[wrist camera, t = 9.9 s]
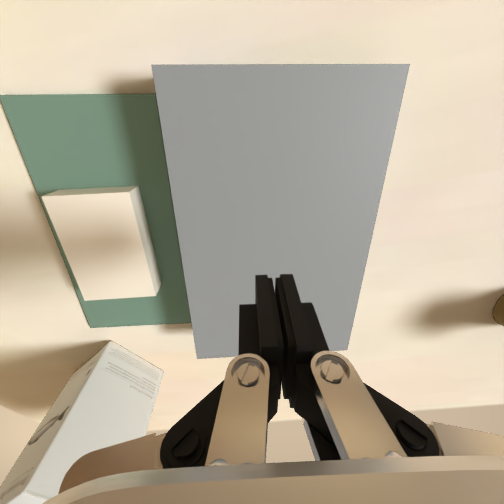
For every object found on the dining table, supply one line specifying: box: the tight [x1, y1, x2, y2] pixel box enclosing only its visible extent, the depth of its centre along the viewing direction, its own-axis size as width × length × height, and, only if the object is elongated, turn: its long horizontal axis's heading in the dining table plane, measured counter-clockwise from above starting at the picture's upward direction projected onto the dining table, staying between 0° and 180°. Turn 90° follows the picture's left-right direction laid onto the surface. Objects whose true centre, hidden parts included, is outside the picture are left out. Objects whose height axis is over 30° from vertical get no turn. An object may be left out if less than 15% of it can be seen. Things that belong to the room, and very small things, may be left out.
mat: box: [0, 94, 191, 328], centre depth 22 cm, size 20×10×1 cm, turn 1°
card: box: [41, 186, 162, 301], centre depth 21 cm, size 9×6×2 cm, turn 2°
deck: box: [152, 64, 410, 359], centre depth 21 cm, size 22×14×4 cm, turn 1°
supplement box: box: [0, 341, 164, 504], centre depth 24 cm, size 7×7×13 cm
